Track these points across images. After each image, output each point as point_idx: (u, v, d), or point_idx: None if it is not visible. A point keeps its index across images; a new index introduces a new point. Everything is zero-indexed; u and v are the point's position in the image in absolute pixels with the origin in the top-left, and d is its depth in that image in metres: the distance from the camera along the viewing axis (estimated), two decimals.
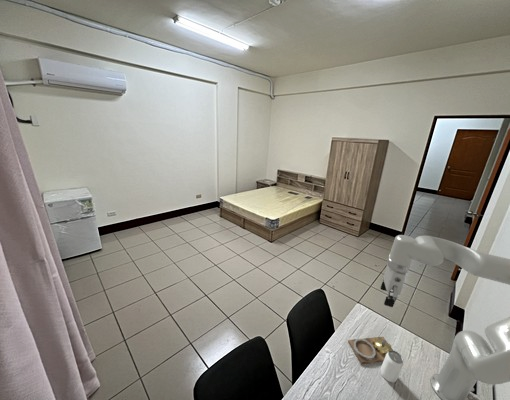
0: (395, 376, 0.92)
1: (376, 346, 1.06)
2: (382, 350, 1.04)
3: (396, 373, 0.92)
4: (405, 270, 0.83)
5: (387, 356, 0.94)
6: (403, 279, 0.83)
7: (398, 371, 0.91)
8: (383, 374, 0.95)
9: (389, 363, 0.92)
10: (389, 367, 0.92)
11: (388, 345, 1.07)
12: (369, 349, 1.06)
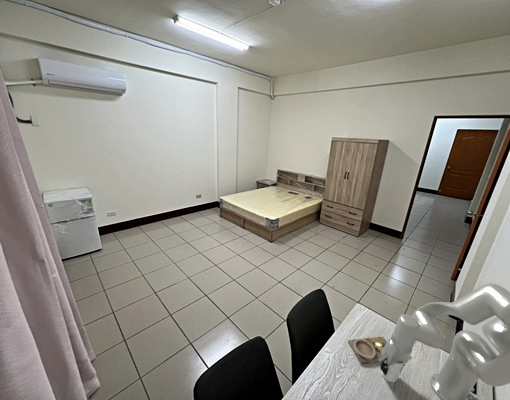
0: (395, 376, 0.92)
1: (376, 346, 1.06)
2: (382, 350, 1.04)
3: (396, 373, 0.92)
4: None
5: None
6: None
7: (398, 371, 0.91)
8: (383, 374, 0.95)
9: None
10: (389, 367, 0.92)
11: None
12: (369, 349, 1.06)
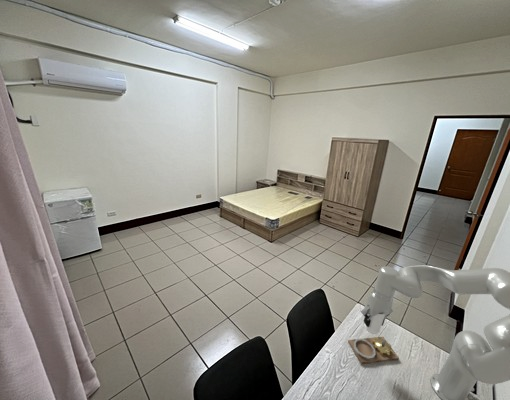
0: (377, 327, 0.96)
1: (376, 346, 1.06)
2: (382, 350, 1.04)
3: (378, 324, 0.96)
4: None
5: None
6: None
7: (380, 322, 0.95)
8: (366, 327, 0.99)
9: None
10: (371, 318, 0.96)
11: (388, 345, 1.07)
12: (369, 349, 1.06)
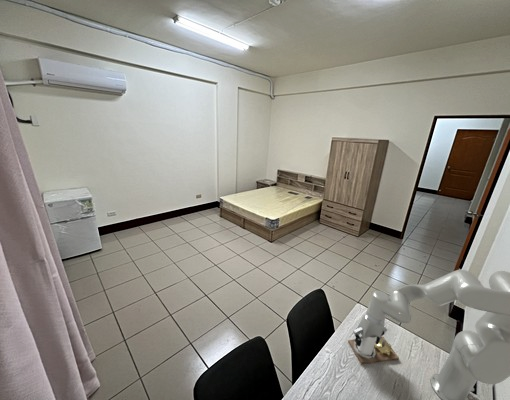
0: (369, 350, 1.01)
1: (376, 346, 1.06)
2: (382, 350, 1.04)
3: (370, 347, 1.00)
4: None
5: None
6: None
7: (372, 345, 1.00)
8: (359, 349, 1.04)
9: None
10: (364, 341, 1.01)
11: (388, 345, 1.07)
12: None
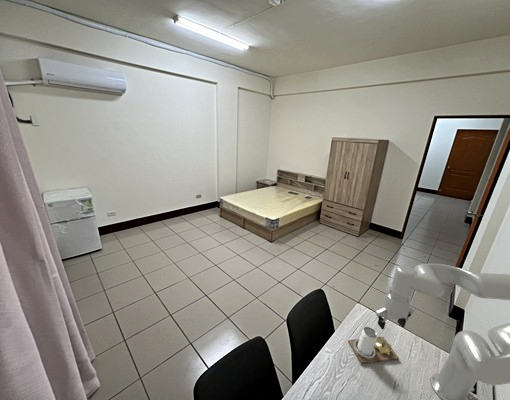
0: (369, 350, 1.01)
1: (376, 346, 1.06)
2: (382, 350, 1.04)
3: (370, 347, 1.00)
4: None
5: (362, 332, 1.03)
6: None
7: (372, 345, 1.00)
8: (359, 349, 1.04)
9: (364, 338, 1.01)
10: (364, 341, 1.01)
11: (388, 345, 1.07)
12: None
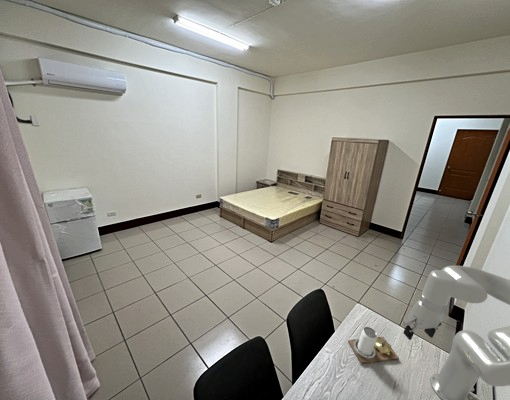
0: (369, 350, 1.01)
1: (376, 346, 1.06)
2: (382, 350, 1.04)
3: (370, 347, 1.00)
4: None
5: (362, 332, 1.03)
6: None
7: (372, 345, 1.00)
8: (359, 349, 1.04)
9: (364, 338, 1.01)
10: (364, 341, 1.01)
11: (388, 345, 1.07)
12: None
